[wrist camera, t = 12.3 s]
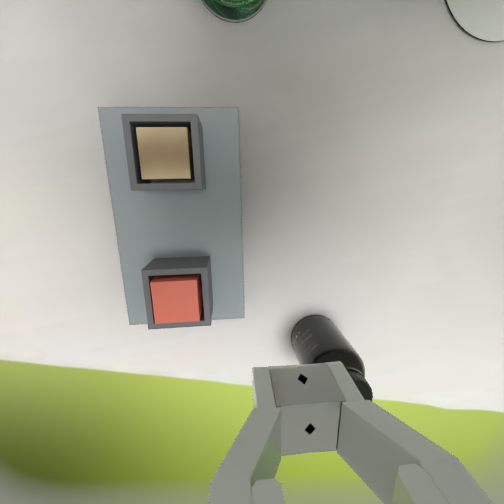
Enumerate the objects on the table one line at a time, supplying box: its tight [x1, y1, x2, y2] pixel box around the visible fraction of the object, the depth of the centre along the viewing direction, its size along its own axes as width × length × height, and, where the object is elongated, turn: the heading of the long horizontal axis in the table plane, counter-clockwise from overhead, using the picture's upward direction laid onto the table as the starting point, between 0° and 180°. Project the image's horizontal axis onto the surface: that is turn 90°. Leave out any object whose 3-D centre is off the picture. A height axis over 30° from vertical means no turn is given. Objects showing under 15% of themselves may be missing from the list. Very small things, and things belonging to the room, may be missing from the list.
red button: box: [150, 274, 203, 324], centre depth 27 cm, size 4×4×4 cm
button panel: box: [98, 107, 245, 329], centre depth 28 cm, size 24×14×8 cm, turn 1°
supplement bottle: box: [292, 316, 373, 401], centre depth 32 cm, size 7×7×12 cm
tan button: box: [136, 127, 195, 181], centre depth 25 cm, size 4×4×4 cm
